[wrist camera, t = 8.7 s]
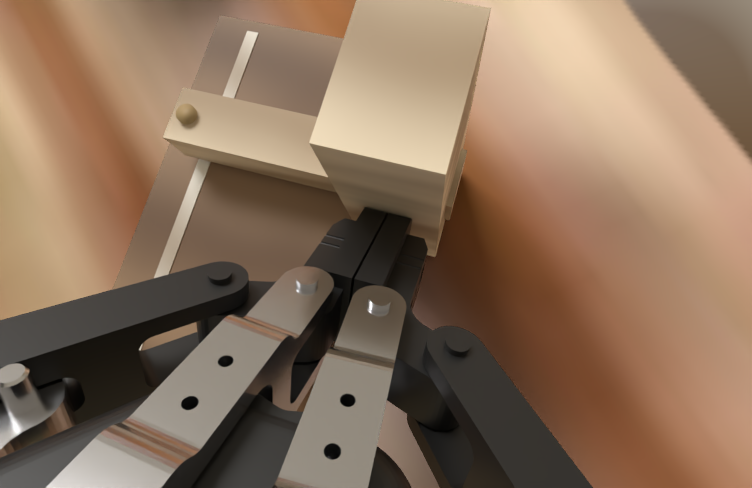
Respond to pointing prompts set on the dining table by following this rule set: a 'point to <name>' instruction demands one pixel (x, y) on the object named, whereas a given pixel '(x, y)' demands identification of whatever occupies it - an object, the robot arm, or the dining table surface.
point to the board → (239, 171)
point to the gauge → (363, 116)
